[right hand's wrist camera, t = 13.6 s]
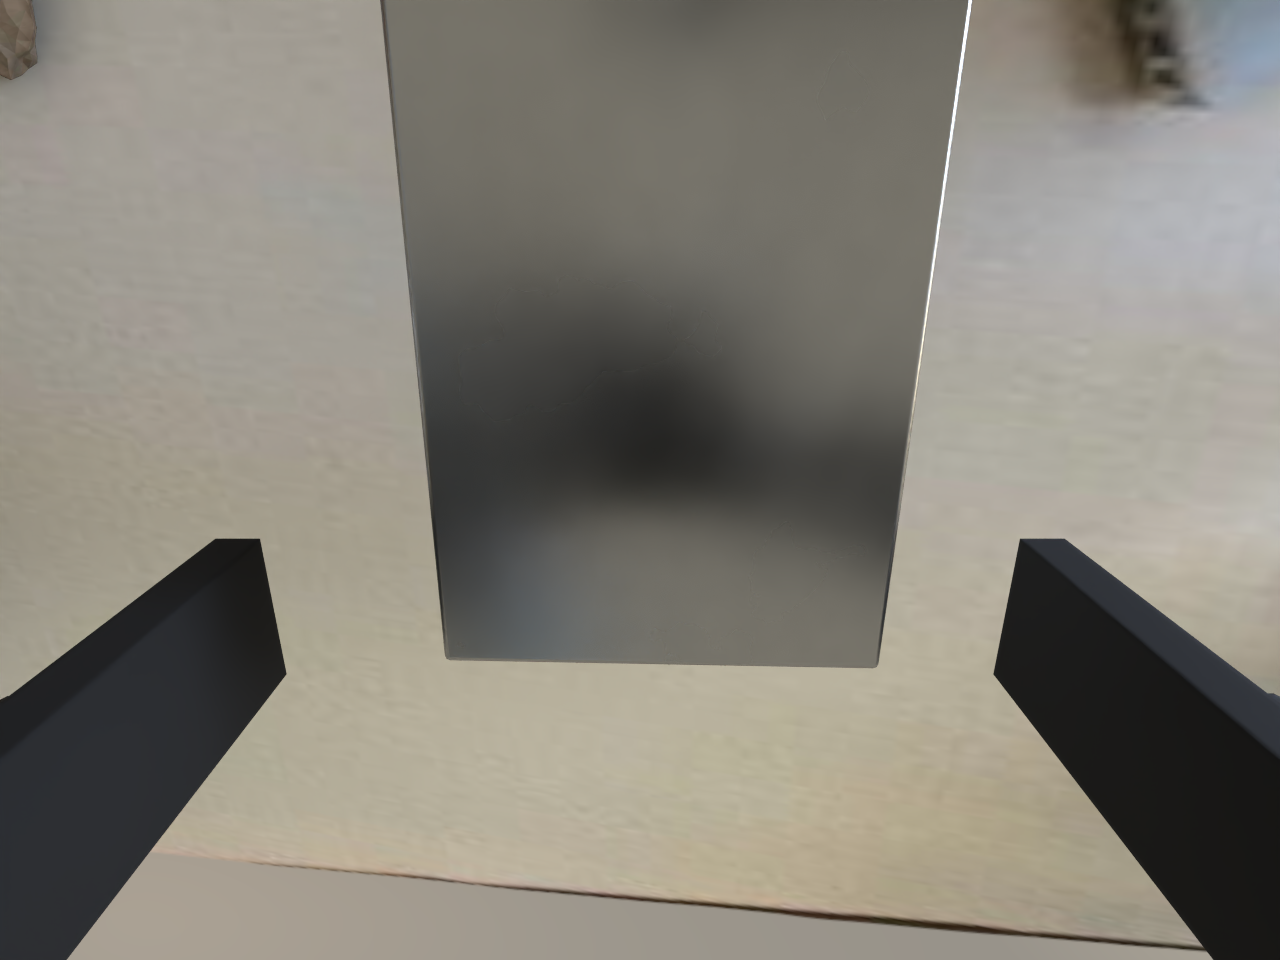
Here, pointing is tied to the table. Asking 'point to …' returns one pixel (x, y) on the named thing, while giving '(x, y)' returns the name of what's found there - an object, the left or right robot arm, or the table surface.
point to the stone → (17, 37)
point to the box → (669, 314)
